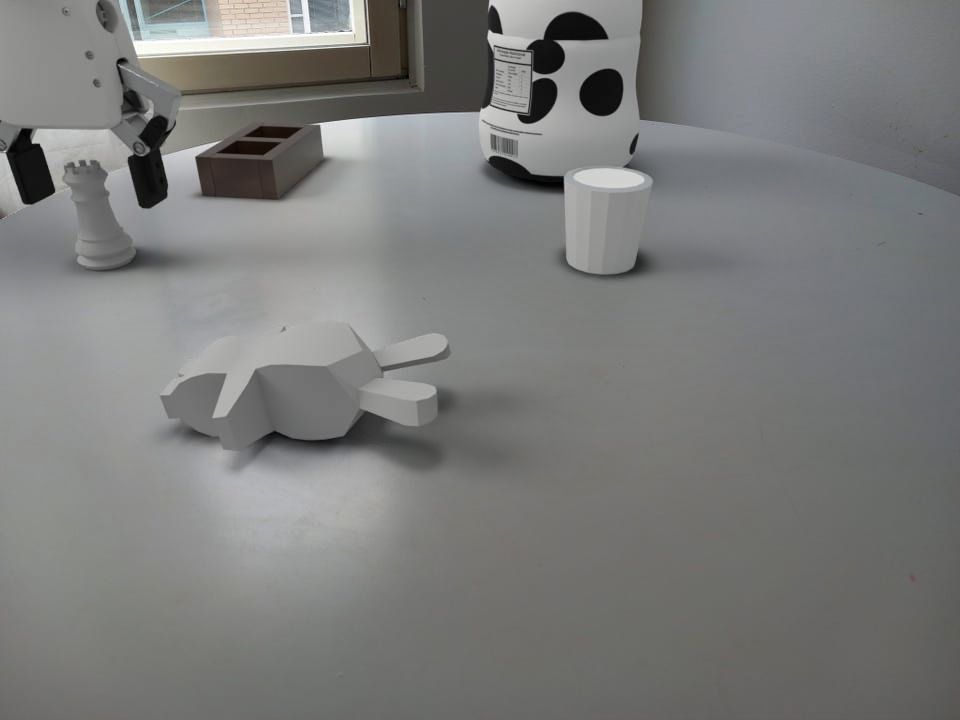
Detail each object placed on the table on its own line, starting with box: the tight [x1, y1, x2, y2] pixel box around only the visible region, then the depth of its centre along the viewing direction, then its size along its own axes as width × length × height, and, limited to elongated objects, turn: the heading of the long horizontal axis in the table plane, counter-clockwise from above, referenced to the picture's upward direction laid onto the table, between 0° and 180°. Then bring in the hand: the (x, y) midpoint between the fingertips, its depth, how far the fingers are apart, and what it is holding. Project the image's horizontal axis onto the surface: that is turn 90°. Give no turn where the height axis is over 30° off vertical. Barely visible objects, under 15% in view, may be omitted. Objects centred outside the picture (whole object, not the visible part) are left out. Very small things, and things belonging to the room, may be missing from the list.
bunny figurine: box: [159, 320, 452, 452], centre depth 41 cm, size 10×5×15 cm
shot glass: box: [563, 166, 654, 275], centre depth 59 cm, size 7×7×7 cm
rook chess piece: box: [61, 159, 137, 271], centre depth 59 cm, size 4×4×8 cm
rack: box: [194, 121, 325, 200], centre depth 80 cm, size 8×14×4 cm, turn 172°
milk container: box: [478, 0, 643, 183], centre depth 78 cm, size 17×17×18 cm
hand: (96, 201), depth 58 cm, fingers open, 9 cm apart
